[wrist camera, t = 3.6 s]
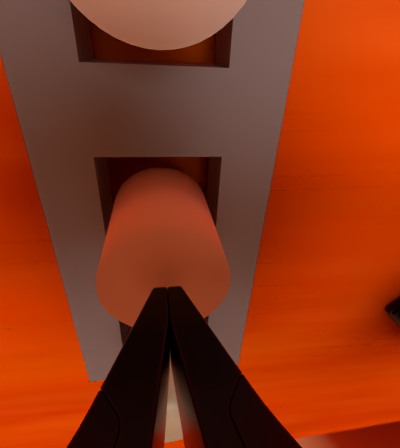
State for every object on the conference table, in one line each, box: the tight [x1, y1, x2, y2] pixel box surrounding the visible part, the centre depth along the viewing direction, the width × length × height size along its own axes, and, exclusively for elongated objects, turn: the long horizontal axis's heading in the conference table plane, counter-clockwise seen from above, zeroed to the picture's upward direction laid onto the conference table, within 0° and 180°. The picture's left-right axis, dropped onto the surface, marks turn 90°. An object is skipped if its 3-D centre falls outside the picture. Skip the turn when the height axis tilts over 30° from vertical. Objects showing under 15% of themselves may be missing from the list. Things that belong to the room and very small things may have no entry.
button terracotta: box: [95, 167, 231, 327], centre depth 11 cm, size 4×4×5 cm
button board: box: [0, 0, 304, 382], centre depth 14 cm, size 25×10×3 cm, turn 178°
